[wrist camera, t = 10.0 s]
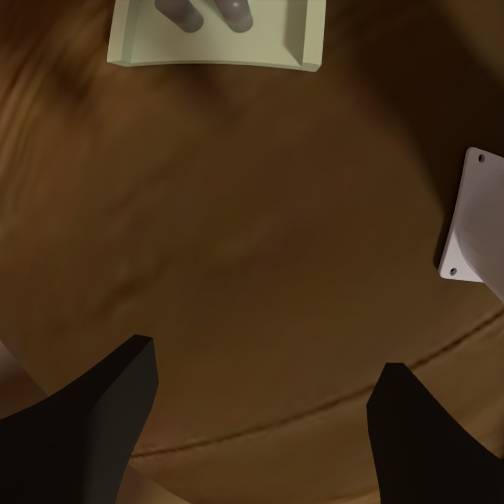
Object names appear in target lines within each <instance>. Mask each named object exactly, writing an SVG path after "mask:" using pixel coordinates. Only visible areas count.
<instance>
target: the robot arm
mask: <svg viewBox="0 0 504 504" xmlns="http://www.w3.org/2000/svg"><path fill="white" fill-rule="evenodd" d="M480 154H481V161H480V162H479V160H478V157H479V155H480ZM453 268H454V270H453V272H451V273H450V271H451V269H453ZM438 273H439V274H440V275H441V277H443V278H448V279H457V280H466V281H475V282H484V283H485V284H486V285H487V286H488V287H489V288H490V289H491V290H492V291H493V292H494V293H495V294H496V295H497V296H498V297H499V298H500V299H501V300H502V301H503V303H504V158H503V157H500V156H497V155H495V154H492V153H489V152H487V151H484V150H481V149H478V148H475V147H470V148H468V150H467V151H466V155H465V161H464V167H463V172H462V178H461V183H460V188H459V192H458V197H457V202H456V206H455V210H454V214H453V218H452V222H451V226H450V230H449V234H448V237H447V241H446V245H445V248H444V251H443V255H442V258H441V261H440V264H439V268H438ZM158 384H159V380H158V373H157V366H156V358H155V350H154V342H153V338H151V337H146V336H141V335H136V334H135V335H133V336H132V337H131V338H129V339H128V340H127V341H126V342H124V343H123V344H122V345H121V346H119V347H118V348H117V349H115V350H114V351H113V352H112V353H110V354H109V355H108V356H107V357H105V358H104V359H103V360H102V361H100V362H99V363H98V364H96V365H95V366H94V367H92V368H91V369H90V370H88V371H87V372H86V373H84V374H83V375H82V376H80V377H79V378H77V379H76V380H74V381H73V382H71V383H70V384H69V385H67V386H66V387H64V388H63V389H61V390H60V391H58V392H56V393H55V394H53V395H51V396H50V397H48V398H46V399H44V400H42V401H40V402H39V403H37V404H35V405H33V406H31V407H29V408H26V409H24V410H22V411H20V412H17V413H15V414H13V415H10V416H8V417H6V418H3V419H0V504H115V502H116V498H117V494H118V491H119V487H120V484H121V480H122V477H123V473H124V471H125V468H126V465H127V463H128V461H129V458H130V456H131V454H132V451H133V449H134V447H135V445H136V442H137V440H138V438H139V436H140V433H141V431H142V429H143V427H144V424H145V422H146V420H147V418H148V415H149V413H150V411H151V408H152V405H153V402H154V398H155V395H156V391H157V388H158ZM366 407H367V421H368V432H369V438H370V443H371V448H372V453H373V458H374V463H375V468H376V473H377V478H378V483H379V490H380V498H381V504H504V461H502V460H501V459H499V458H498V457H496V456H495V455H494V454H492V453H491V452H490V451H488V450H487V449H486V448H485V447H484V446H482V445H481V444H480V443H479V442H478V441H477V440H475V439H474V438H473V437H472V436H471V435H470V434H469V433H468V432H466V431H465V430H464V429H463V428H462V427H461V426H460V425H459V424H458V423H457V422H456V421H455V420H454V419H453V418H452V416H451V415H450V414H449V413H448V412H447V411H446V410H445V409H444V408H443V407H442V406H441V405H440V404H439V402H438V401H437V400H436V399H435V398H434V397H433V396H432V395H431V393H430V392H429V391H428V390H427V389H426V388H425V387H424V385H423V384H422V383H421V382H420V381H419V380H418V379H417V377H416V376H415V375H414V374H413V373H412V372H411V371H410V370H409V369H408V368H407V367H406V365H405V364H404V363H386V364H385V366H384V369H383V371H382V373H381V375H380V378H379V380H378V382H377V384H376V386H375V388H374V390H373V392H372V395H371V397H370V399H369V401H368V403H367V405H366Z"/></svg>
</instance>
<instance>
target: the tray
mask: <svg viewBox="0 0 504 504" xmlns="http://www.w3.org/2000/svg"><path fill="white" fill-rule="evenodd" d="M325 8H326V0H116V3H115V8H114V14H113V20H112V26H111V33H110V40H109V48H108V56H107V62H109V63H113V64H117V65H121V66H125V67H131V66H143V65H159V64H195V63H203V64H239V65H255V66H268V67H279V68H288V69H296V70H304V71H311V72H316V71H317V70H318V68H319V67H320V66H321V60H322V49H323V36H324V23H325Z"/></svg>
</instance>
